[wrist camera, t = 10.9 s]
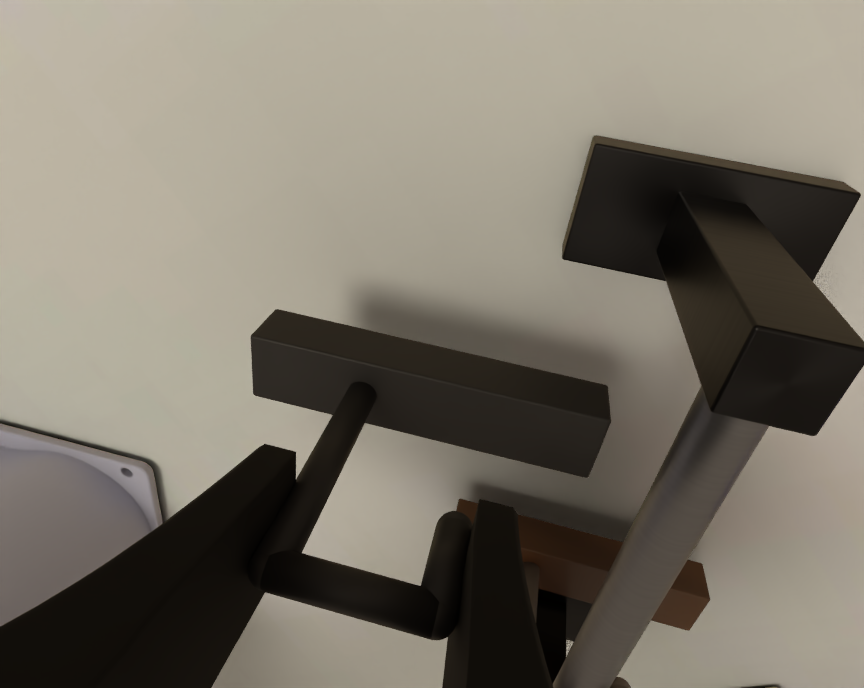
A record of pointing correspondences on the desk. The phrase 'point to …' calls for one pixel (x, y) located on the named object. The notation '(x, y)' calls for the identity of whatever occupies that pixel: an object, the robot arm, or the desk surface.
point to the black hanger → (414, 414)
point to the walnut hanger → (593, 570)
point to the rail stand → (704, 355)
